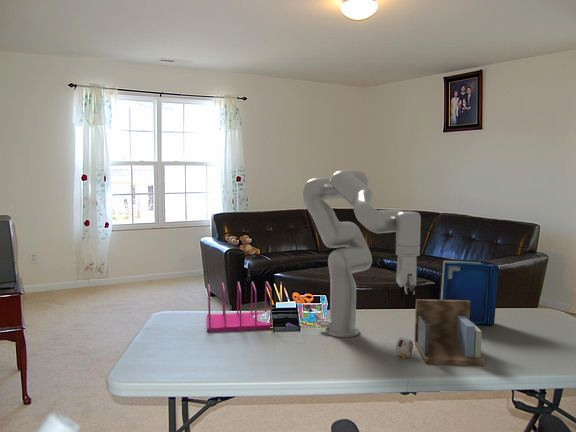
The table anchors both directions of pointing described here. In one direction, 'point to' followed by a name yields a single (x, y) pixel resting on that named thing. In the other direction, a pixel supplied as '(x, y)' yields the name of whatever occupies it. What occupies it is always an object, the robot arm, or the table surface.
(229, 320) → the file sorter
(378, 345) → the table surface
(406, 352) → the roller toy
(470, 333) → the standing books
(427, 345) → the bookend
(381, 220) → the robot arm
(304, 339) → the table surface
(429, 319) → the shelf
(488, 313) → the book
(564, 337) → the table surface
